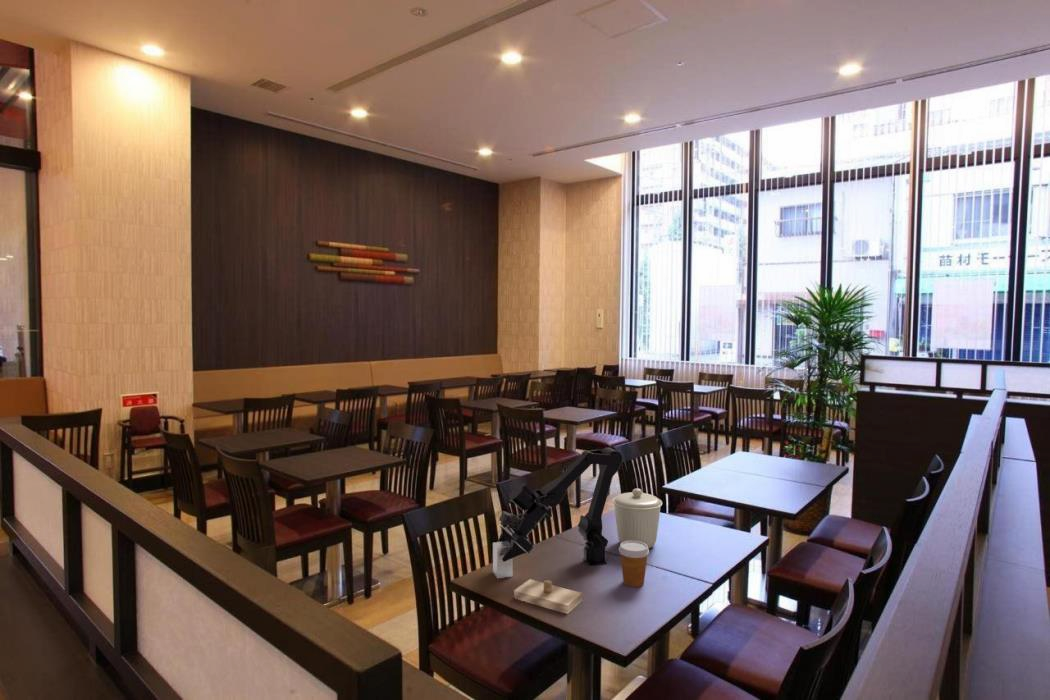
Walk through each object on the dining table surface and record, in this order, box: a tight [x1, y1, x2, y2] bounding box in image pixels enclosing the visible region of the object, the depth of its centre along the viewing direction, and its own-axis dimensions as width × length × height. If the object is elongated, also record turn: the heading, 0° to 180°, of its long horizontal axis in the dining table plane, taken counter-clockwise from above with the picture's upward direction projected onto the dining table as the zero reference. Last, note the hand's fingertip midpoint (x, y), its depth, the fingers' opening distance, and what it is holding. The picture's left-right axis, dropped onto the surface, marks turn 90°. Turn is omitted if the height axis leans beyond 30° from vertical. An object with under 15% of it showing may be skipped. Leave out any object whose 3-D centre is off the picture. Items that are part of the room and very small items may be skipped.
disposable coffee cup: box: [618, 541, 650, 588], centre depth 188 cm, size 10×10×12 cm
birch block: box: [513, 578, 583, 615], centre depth 177 cm, size 18×9×6 cm, turn 58°
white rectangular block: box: [492, 541, 514, 580], centre depth 195 cm, size 5×5×10 cm
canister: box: [612, 488, 663, 549], centre depth 220 cm, size 18×18×21 cm
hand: (498, 555), depth 195 cm, fingers open, 9 cm apart
